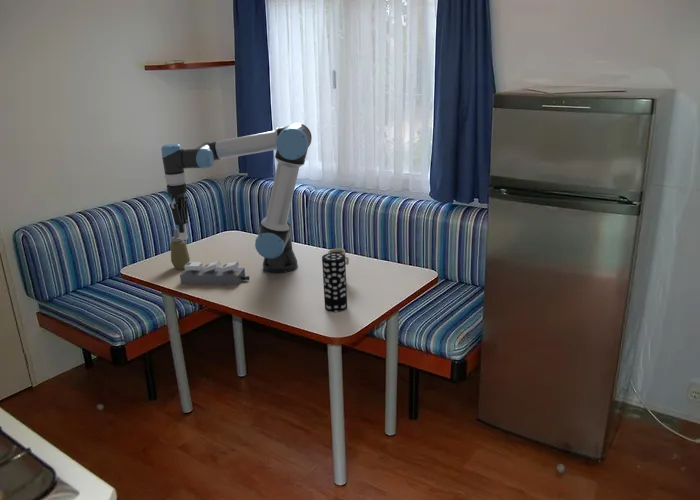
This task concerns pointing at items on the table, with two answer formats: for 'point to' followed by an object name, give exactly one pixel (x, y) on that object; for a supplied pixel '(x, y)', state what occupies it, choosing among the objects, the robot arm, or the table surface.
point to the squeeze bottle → (179, 252)
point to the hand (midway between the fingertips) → (184, 239)
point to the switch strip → (214, 276)
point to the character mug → (341, 253)
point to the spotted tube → (334, 282)
